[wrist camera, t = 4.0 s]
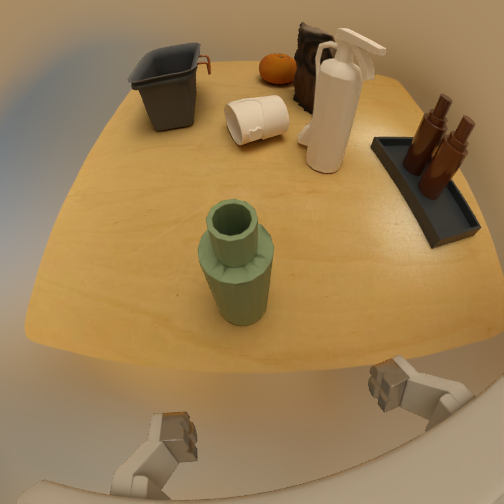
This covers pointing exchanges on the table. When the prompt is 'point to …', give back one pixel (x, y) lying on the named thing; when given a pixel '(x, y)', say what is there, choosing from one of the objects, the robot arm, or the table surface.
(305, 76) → the brown rock chunk
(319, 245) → the table surface
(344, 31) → the fire extinguisher
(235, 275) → the green bottle
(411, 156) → the bottle row
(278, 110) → the mug
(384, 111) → the table surface
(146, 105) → the storage bin
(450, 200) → the tray
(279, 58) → the fruit
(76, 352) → the table surface
